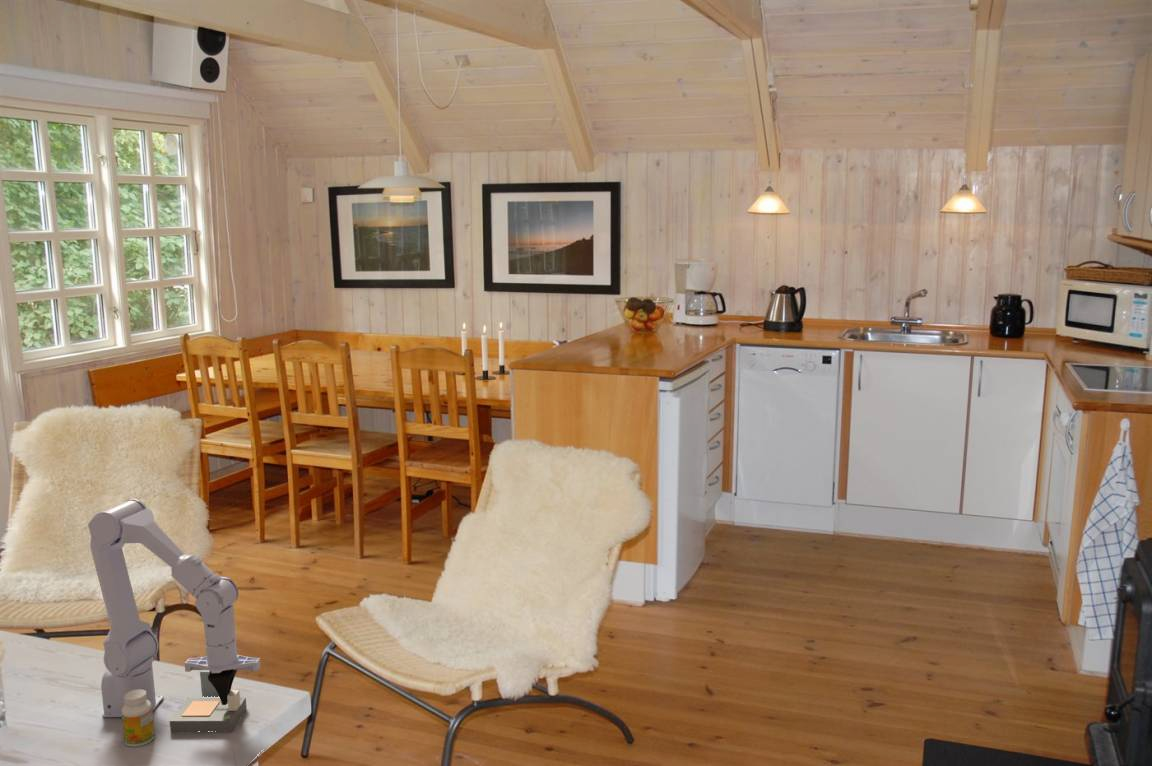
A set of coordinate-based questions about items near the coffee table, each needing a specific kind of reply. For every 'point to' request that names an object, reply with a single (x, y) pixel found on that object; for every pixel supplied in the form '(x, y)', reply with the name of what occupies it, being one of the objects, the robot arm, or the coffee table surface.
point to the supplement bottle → (137, 718)
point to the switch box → (206, 716)
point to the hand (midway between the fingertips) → (225, 702)
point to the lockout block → (207, 685)
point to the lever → (233, 700)
